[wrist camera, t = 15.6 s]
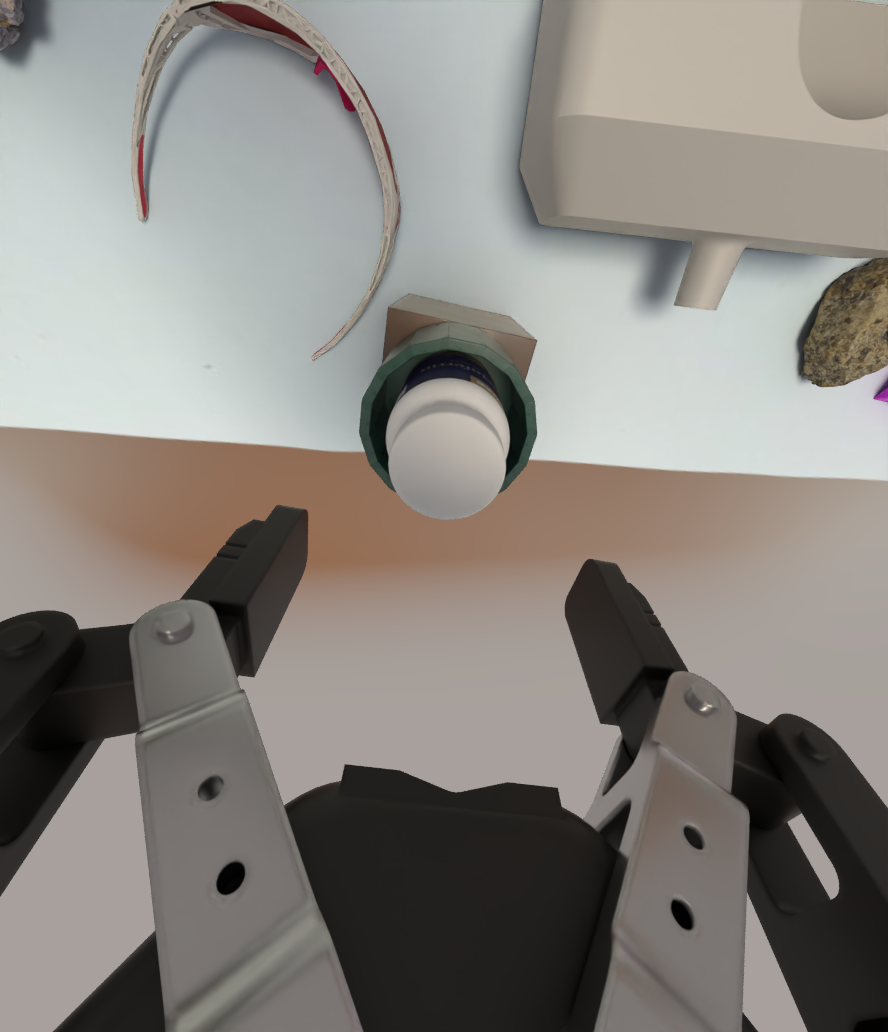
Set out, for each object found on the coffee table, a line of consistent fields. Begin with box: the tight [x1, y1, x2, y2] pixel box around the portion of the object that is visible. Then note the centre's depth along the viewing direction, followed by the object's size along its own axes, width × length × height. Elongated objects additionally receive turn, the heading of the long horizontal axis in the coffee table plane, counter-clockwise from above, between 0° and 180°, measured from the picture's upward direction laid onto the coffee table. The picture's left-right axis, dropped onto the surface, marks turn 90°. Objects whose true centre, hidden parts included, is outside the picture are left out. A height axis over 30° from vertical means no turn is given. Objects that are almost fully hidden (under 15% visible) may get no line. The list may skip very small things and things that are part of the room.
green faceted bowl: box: [359, 322, 537, 494], centre depth 22 cm, size 9×9×6 cm
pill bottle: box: [386, 351, 510, 520], centre depth 20 cm, size 6×6×10 cm
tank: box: [519, 0, 888, 310], centre depth 22 cm, size 25×16×12 cm, turn 85°
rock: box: [802, 258, 888, 387], centre depth 30 cm, size 7×8×4 cm
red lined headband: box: [132, 0, 401, 361], centre depth 27 cm, size 17×17×5 cm
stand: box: [382, 294, 537, 381], centre depth 29 cm, size 9×9×12 cm
